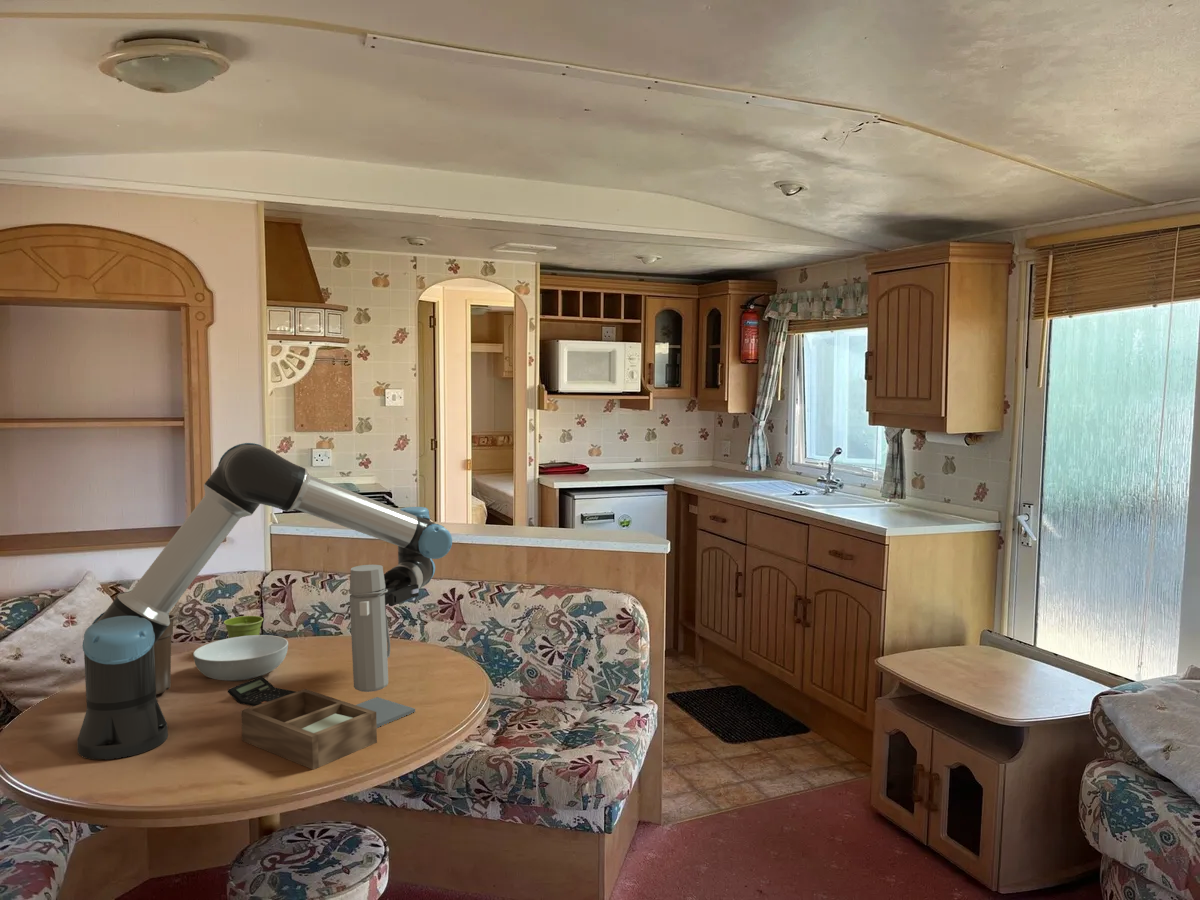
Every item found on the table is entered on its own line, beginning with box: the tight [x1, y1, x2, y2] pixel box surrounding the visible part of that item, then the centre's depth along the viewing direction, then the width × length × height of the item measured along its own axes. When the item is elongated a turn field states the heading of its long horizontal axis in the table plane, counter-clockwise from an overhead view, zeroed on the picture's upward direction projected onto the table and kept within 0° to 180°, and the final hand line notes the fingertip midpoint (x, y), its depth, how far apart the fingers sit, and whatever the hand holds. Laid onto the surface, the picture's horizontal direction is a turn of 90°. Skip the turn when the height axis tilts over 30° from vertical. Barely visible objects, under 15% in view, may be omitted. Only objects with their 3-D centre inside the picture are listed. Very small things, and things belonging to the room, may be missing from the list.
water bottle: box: [347, 564, 391, 693], centre depth 176 cm, size 9×8×25 cm
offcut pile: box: [302, 714, 352, 733], centre depth 160 cm, size 10×5×5 cm, turn 152°
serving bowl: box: [192, 634, 289, 682], centre depth 203 cm, size 21×21×7 cm
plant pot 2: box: [223, 615, 264, 638], centre depth 220 cm, size 9×9×9 cm
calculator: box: [227, 675, 297, 707], centre depth 188 cm, size 9×12×3 cm
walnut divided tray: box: [240, 688, 378, 771], centre depth 164 cm, size 14×22×6 cm, turn 55°
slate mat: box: [355, 696, 416, 729], centre depth 177 cm, size 12×12×1 cm
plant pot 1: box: [154, 614, 176, 695], centre depth 188 cm, size 16×16×16 cm
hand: (363, 608), depth 170 cm, fingers closed
